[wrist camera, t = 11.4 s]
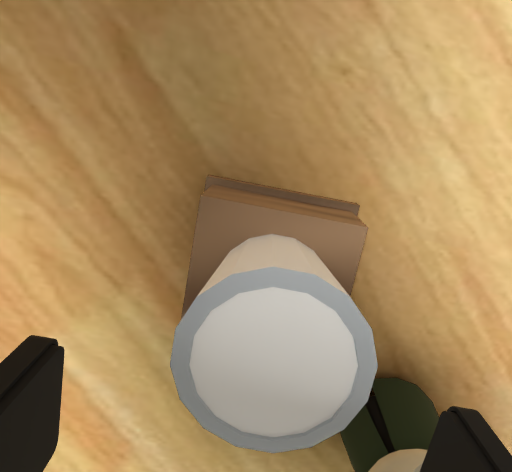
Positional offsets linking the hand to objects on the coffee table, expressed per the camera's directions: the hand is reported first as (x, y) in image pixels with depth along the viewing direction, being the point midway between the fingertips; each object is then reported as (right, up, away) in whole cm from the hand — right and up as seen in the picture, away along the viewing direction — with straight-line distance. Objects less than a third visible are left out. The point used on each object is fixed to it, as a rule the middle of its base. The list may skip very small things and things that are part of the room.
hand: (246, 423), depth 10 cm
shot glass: (+1, +2, +10) cm, 11 cm away
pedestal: (+1, +3, +15) cm, 16 cm away
